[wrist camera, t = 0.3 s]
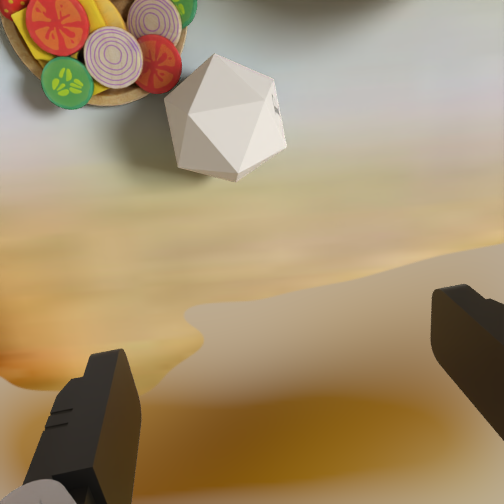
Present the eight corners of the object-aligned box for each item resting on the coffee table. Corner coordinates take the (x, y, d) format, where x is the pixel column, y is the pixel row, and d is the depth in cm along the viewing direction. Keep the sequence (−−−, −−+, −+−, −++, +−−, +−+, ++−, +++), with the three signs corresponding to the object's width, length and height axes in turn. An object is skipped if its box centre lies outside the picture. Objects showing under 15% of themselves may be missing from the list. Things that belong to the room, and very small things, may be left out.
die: (247, 185, 40) (323, 158, 32) (157, 196, 35) (222, 167, 27) (228, 92, 39) (301, 42, 31) (135, 90, 34) (194, 30, 26)
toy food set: (141, -134, 30) (136, -155, 27) (223, 64, 35) (226, 64, 32) (-38, -47, 30) (-62, -59, 27) (70, 135, 36) (59, 142, 33)
